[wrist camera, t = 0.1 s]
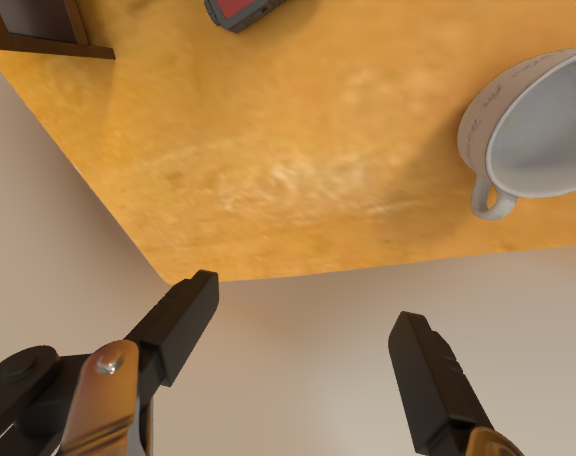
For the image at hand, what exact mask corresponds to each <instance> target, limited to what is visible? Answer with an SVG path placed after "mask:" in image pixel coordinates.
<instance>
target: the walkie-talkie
mask: <svg viewBox="0 0 576 456" xmlns="http://www.w3.org/2000/svg"><path fill="white" fill-rule="evenodd" d="M282 2H283V3H284V2H285V0H205V1H204V3H205V7H206V10H207V12H208V14H209V16H210V18H211V19H212V21H213V22H214V23H215V24H216V25H217V26H220V25H221V26H222V28H224V29H226V30H229V31H231V32H234V33H238V32H240V31H241V30H243V29H244V28H246V27H248V26H249V25H251V24H252V23H254V22H255V21H257V20H258V19H260V18H261V17H263V16H264V15H266V14H267V13H269V12H270V11H272V10H273V9H275V7H276V6H277V5H278V6H279V5H280V3H282Z"/></svg>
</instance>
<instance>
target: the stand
mask: <svg viewBox="0 0 576 456" xmlns="http://www.w3.org/2000/svg"><path fill="white" fill-rule="evenodd" d="M0 50H7V51H19V52H31V53H43V54H55V55H67V56H79V57H91V58H103V59H115V55H114V51H113V49H111V48H105V47H99V46H93V45H89V44H88V40H87V37H86V34H85V31H84V27H83V24H82V21H81V18H80V14H79V11H78V8H77V5H76V1H75V0H0Z"/></svg>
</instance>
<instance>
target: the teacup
mask: <svg viewBox="0 0 576 456" xmlns="http://www.w3.org/2000/svg"><path fill="white" fill-rule="evenodd" d="M457 145H458V150H459V154H460V156H461V158H462V160H463V161H464V162H465V164H466V165H467V166H468V167H469V168H470V169H472V170H473V171H474V172H476V182H475V185H474V189H473V192H472V196H471V210H472V212H473V213H474V214H475V215H476V216H477V217H479V218H481V219H485V220H498V219H501V218H504V217H505V216H506V215H508V214H509V213H510V212H511V211H512V209H513V208H514V206H515V203H516V200H517V197H521V198H546V197H554V196H559V195H563V194H567V193H570V192H573V191H576V48H571V49H565V50H560V51H555V52H550V53H546V54H542V55H539V56H536V57H533V58H530V59H528V60H525V61H523V62H521V63H519V64H517V65H515V66H513V67H511V68H509V69H508V70H506V71H504V72H503V73H501V74H500V75H498V76H497V77H496V78H495V79H493V80H492V81H491V82H490V83H488V84H487V85H486V86H485V87H484V88H483V89H482V90H481V91H480V92H479V93H478V95H477V96H476V97H475V98H474V99H473V101H472V102H471V104H470V105H469V107H468V108H467V110H466V111H465V113H464V115H463V117H462V120H461V122H460V125H459V129H458V134H457ZM492 183H493V184H494V187H495V189H496V191H497V200H496V203H495V204H494V205H493V207H491V208H490V209H489V210H488V208H487V197H488V193H489V190H490V186H491V184H492Z"/></svg>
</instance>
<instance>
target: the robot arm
mask: <svg viewBox="0 0 576 456" xmlns="http://www.w3.org/2000/svg"><path fill="white" fill-rule="evenodd" d="M218 302H219V283H218V274H217V273H216V272H211V271H206V270H199V271H198V272H197V273H196V274H195V275H194V276H193V277H192V278H191V280H190V279H184V280H182V281H181V282H179V283H177V284H175V285H174V286H173V287H172V288H171V289H170V290H169V291H168V292H167V293H166V294H165V297H163V298H162V299H161V300H160V301H159V302H158V304H157V305H155V306H154V307H153V308H152V310H150V311H149V313H148V314H147V315H146V316H145V317H144V318H143V319H142V320H141V321H140V322H139V323H138V325H136V326H135V328H134V329H133V330H132V331H131V332H130V333H129V334H128V335H127V336H126V337H125V338H124V339H123V340H118V341H114V342H111V343H108V344H106V345H104V346H102V347H101V348H99V349H98V350H96V351H95V352H94V353H92V354H83V355H72V356H61V357H59V356H58V354H57V353H56V351H55V349H54V348H52V347H50V346H45V345H43V346H35V347H31V348H28V349H25V350H22V351H20V352H18V353H16V354H14V355H12V356H10V357H8V358H7V359H5V360H3V361H2V362H1V363H0V436H1V435H2V433H4V432H5V431H6V429H7V428H8V427H9V426H10V425H11V424H12V423H13V425H12V427H11V428H10V429H9V430H8V431H7V432H6V433H5V434H4V435H3V436H2V437H1V438H0V456H51V454H52V453H53V452H54V450H55V449H56V448H57V446H58V445H59V444H60V443H61V444H60V447H59V450H58V452H57V453H56V455H55V456H153V395H154V394H155V392H156V390H157V389H158V387H159V386H160V385H163V386H167V387H171V386H172V384H173V382H174V380H175V379H176V377H177V375H178V374H179V372H180V370H181V369H182V367H183V365H184V364H185V362H186V360H187V359H188V357H189V355H190V353H191V352H192V350H193V348H194V347H195V345H196V343H197V342H198V340H199V338H200V337H201V335H202V333H203V331H204V330H205V328H206V326H207V325H208V323H209V321H210V320H211V318H212V316H213V314H214V312H215V311H216V309H217V306H218ZM388 348H389V353H390V357H391V360H392V365H393V368H394V372H395V376H396V380H397V384H398V387H399V391H400V395H401V399H402V403H403V406H404V410H405V414H406V418H407V422H408V426H409V429H410V433H411V437H412V441H413V445H414V448H415V452H416V453H419V454H422V455H426V456H524V455H523V453H522V452H521V451H520V450H519V449H518V448H517V447H516V446H515V445H514V444H513V443H512V442H511V441H510V440H508V439H507V438H506V437H505V436H503V435H502V434H500V433H498V432H497V431H495V429H494V428H493V426H492V424H491V423H490V421H489V419H488V417H487V415H486V413H485V411H484V409H483V408H482V406H481V404H480V402H479V400H478V398H477V396H476V394H475V393H474V391H473V389H472V387H471V385H470V383H469V381H468V380H467V378H466V376H465V375H464V374H463V370H462V368H461V367H460V365H459V363H458V362H457V361H456V357H455V355H454V353H453V352H452V350H451V348H450V346H449V344H448V343H447V342H446V341H445V340H444V339H443V338H442V337H441V336H440V334H439V333H438V332H436V331H432V330H431V328H430V326H429V324H428V322H427V320H426V318H425V317H424V316H423V315H420V314H415V313H410V312H405V311H402V312H401V313H400V315H399V317H398V319H397V321H396V323H395V325H394V327H393V329H392V331H391V333H390V336H389V340H388Z"/></svg>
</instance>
